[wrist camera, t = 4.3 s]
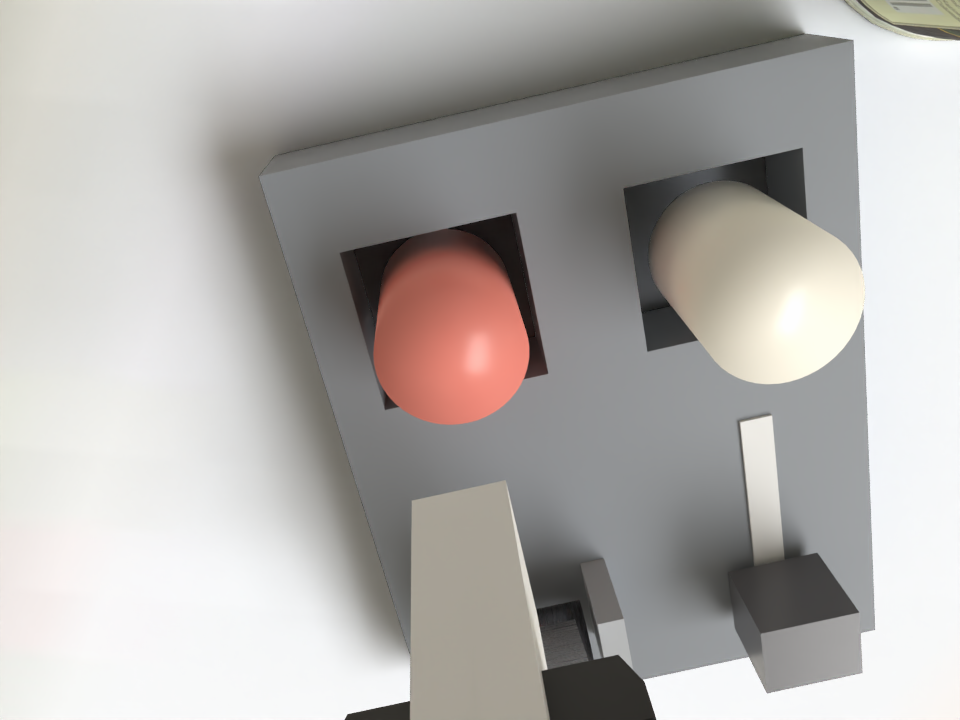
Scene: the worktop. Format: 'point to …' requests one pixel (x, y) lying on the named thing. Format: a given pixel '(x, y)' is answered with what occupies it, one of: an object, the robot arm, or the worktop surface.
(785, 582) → the slider knob
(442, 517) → the robot arm
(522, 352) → the button red
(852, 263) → the button ivory
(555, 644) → the lever
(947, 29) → the coffee can
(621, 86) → the panel
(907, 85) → the worktop surface
